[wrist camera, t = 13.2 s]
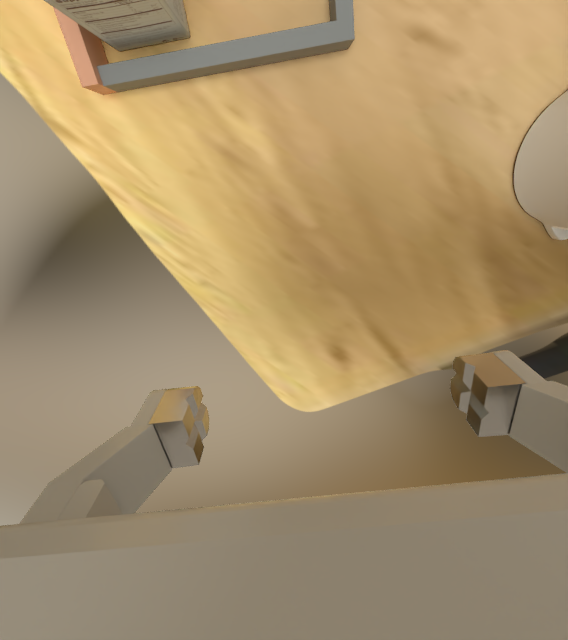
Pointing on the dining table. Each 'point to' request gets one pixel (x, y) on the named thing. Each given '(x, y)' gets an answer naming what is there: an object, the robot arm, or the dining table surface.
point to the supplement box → (128, 20)
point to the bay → (203, 53)
